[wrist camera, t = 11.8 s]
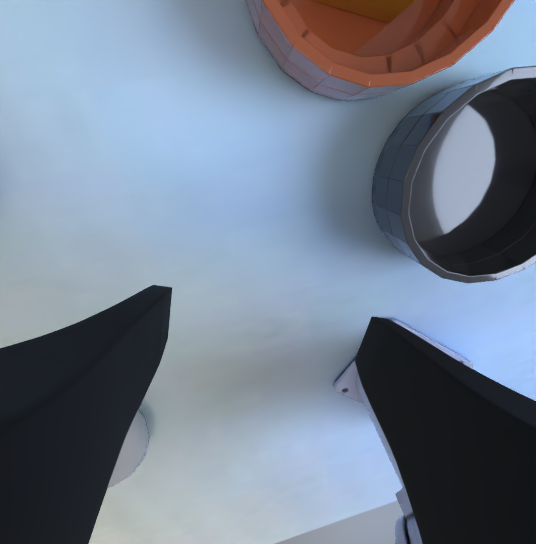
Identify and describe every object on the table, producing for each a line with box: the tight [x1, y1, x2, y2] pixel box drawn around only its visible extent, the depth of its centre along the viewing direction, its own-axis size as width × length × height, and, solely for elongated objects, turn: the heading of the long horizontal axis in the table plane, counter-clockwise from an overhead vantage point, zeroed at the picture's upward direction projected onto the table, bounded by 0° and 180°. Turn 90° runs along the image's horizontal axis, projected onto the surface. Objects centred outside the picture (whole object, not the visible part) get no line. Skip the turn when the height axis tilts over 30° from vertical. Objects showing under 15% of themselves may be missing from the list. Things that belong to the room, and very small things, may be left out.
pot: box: [372, 66, 536, 283], centre depth 17 cm, size 11×11×4 cm
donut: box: [108, 410, 149, 487], centre depth 24 cm, size 10×4×10 cm
